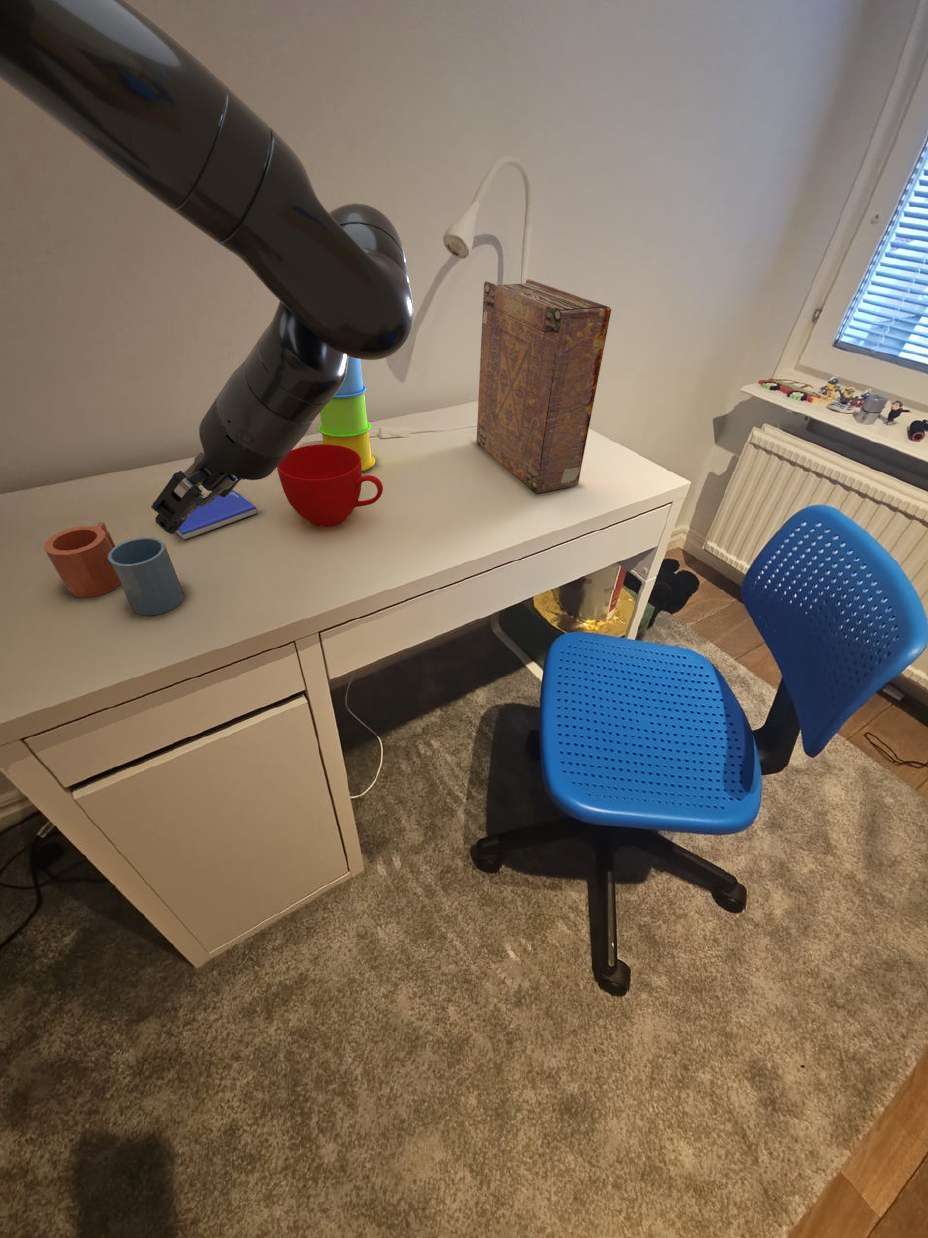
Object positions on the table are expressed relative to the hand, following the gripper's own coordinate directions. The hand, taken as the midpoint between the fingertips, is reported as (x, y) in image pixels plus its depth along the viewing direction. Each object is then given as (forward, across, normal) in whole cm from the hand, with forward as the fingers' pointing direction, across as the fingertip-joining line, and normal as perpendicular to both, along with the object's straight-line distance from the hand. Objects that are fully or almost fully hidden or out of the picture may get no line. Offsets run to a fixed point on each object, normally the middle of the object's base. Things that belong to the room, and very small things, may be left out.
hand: (192, 507), depth 60 cm
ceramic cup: (+11, -28, +12) cm, 33 cm away
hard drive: (+25, -21, -2) cm, 33 cm away
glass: (+20, 0, +4) cm, 20 cm away
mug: (+28, -2, -4) cm, 28 cm away
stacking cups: (+17, -47, +7) cm, 51 cm away
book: (-6, -61, +30) cm, 68 cm away
